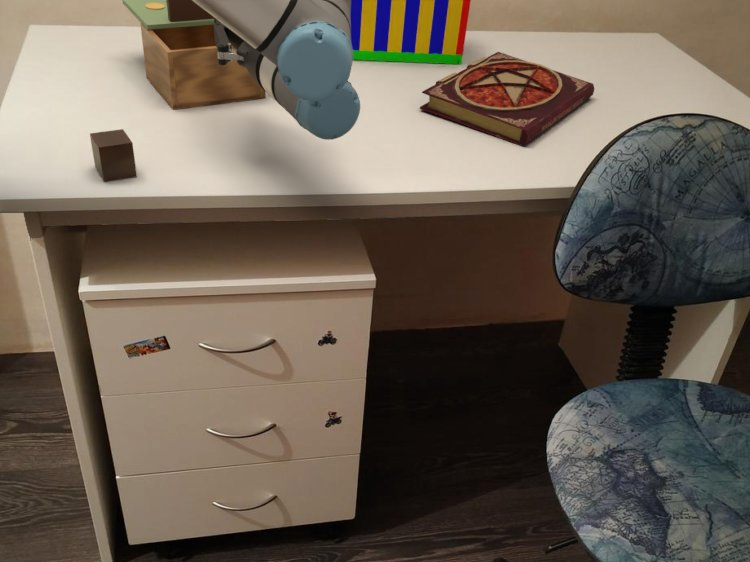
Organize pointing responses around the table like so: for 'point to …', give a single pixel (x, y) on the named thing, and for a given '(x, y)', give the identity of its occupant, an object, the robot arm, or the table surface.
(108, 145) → the block
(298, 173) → the table surface
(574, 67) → the table surface
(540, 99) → the book
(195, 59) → the wooden open box
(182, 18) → the lid
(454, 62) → the toy house
